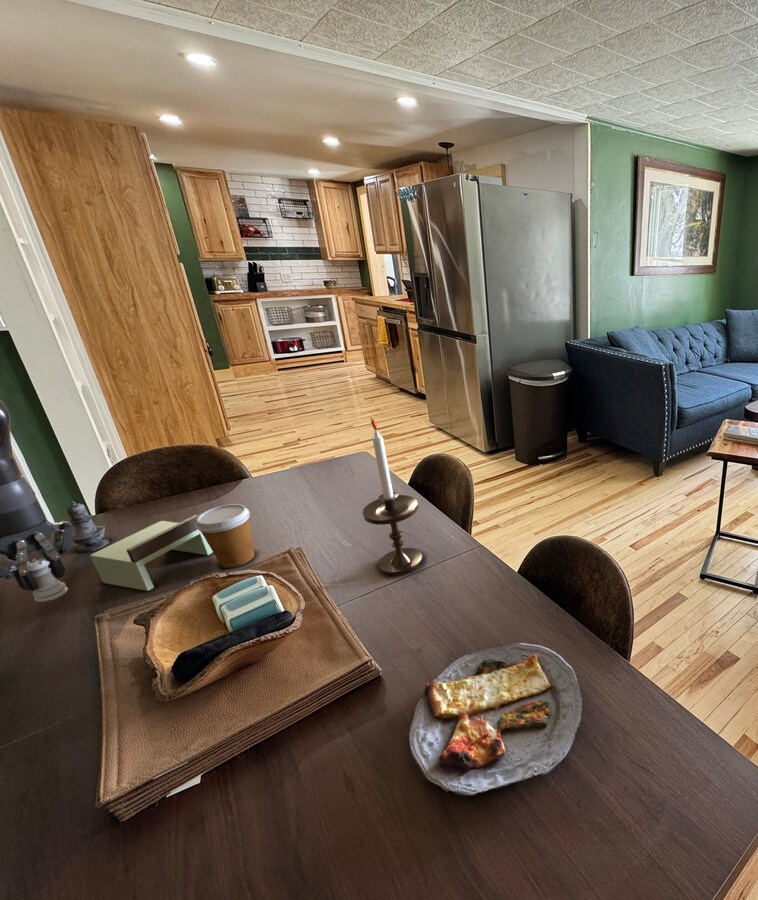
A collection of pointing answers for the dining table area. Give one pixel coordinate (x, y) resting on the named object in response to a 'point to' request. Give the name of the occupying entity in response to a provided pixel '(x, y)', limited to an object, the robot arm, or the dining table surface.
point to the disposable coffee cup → (228, 533)
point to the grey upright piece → (85, 529)
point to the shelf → (147, 552)
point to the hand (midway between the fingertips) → (45, 582)
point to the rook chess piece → (45, 581)
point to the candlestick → (392, 516)
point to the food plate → (495, 718)
